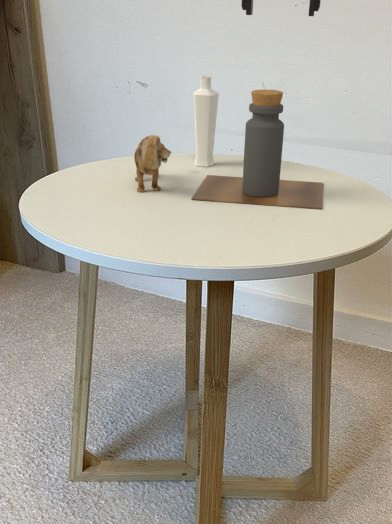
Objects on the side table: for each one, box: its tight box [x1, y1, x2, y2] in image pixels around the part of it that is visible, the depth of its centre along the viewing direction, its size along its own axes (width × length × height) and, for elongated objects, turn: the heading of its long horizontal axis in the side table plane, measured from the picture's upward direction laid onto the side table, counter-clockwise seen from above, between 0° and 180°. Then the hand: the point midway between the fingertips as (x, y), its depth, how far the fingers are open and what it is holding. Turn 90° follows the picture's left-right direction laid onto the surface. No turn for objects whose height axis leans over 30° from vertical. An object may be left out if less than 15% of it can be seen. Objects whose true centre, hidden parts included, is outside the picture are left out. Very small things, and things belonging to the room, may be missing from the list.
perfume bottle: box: [192, 75, 220, 168], centre depth 108 cm, size 5×4×15 cm
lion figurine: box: [133, 134, 172, 193], centre depth 97 cm, size 15×5×9 cm, turn 13°
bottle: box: [242, 89, 285, 197], centre depth 92 cm, size 6×6×15 cm
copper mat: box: [191, 174, 324, 210], centre depth 97 cm, size 20×14×1 cm
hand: (280, 15), depth 83 cm, fingers open, 8 cm apart
